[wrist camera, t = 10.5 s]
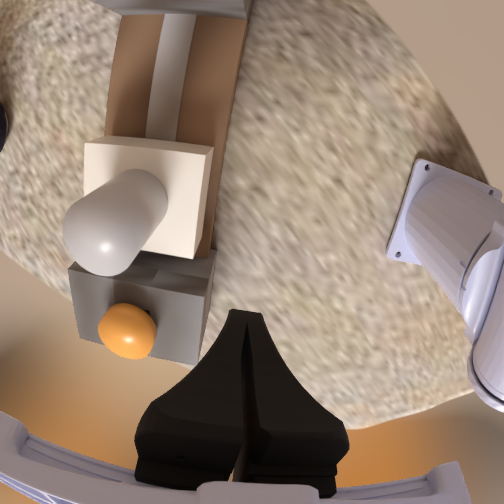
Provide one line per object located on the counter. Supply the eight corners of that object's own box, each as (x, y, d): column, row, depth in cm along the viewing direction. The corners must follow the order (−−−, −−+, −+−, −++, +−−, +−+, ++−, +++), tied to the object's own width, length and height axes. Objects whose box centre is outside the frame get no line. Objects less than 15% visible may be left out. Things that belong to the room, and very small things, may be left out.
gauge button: (164, 292, 20) (151, 322, 17) (163, 333, 21) (152, 364, 19) (113, 282, 19) (94, 309, 17) (116, 323, 21) (101, 351, 18)
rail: (266, -24, 14) (268, -67, 9) (208, 313, 26) (196, 370, 20) (136, -28, 14) (96, -60, 8) (108, 293, 26) (77, 341, 20)
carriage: (214, 146, 18) (182, 179, 11) (201, 237, 21) (172, 312, 14) (107, 135, 18) (30, 163, 11) (105, 221, 20) (43, 282, 13)
